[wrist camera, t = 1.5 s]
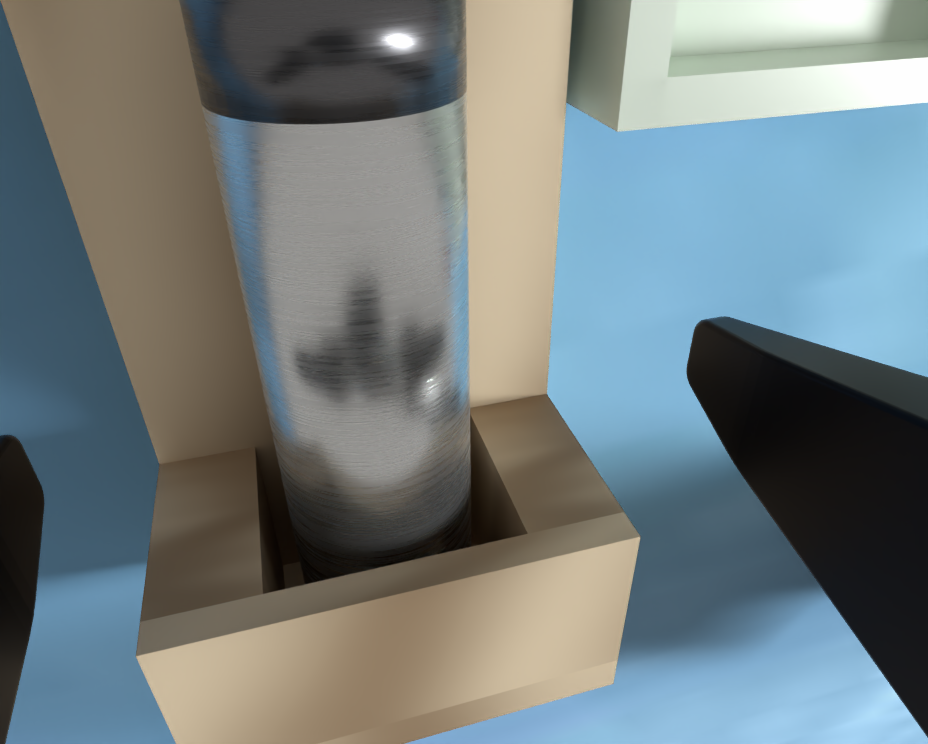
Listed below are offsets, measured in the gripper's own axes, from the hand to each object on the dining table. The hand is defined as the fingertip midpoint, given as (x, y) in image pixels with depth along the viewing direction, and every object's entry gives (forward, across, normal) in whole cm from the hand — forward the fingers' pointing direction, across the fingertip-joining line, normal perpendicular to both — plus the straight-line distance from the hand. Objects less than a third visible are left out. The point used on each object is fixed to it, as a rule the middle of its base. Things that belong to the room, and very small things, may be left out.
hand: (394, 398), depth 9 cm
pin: (+2, 0, 0) cm, 2 cm away
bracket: (+6, 0, +1) cm, 6 cm away
